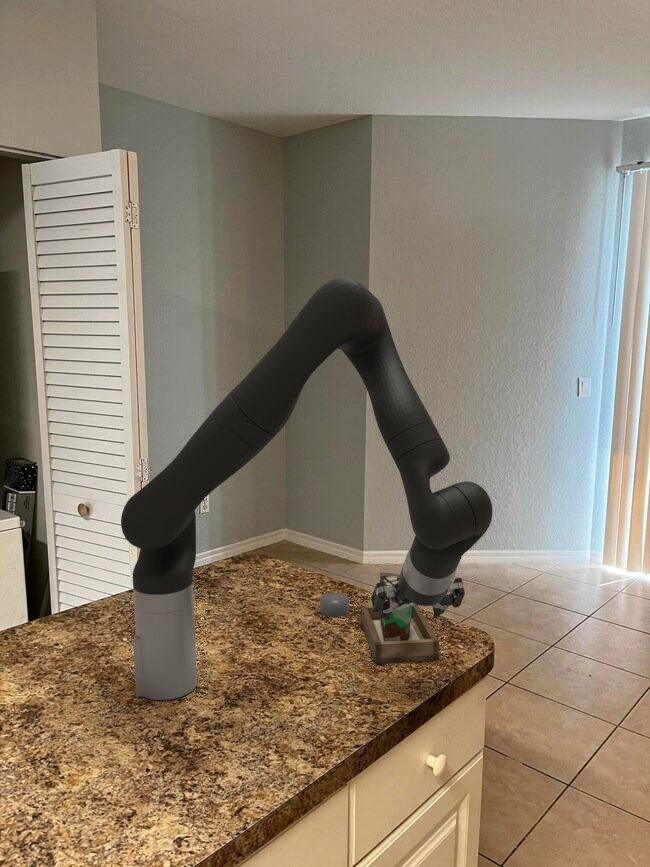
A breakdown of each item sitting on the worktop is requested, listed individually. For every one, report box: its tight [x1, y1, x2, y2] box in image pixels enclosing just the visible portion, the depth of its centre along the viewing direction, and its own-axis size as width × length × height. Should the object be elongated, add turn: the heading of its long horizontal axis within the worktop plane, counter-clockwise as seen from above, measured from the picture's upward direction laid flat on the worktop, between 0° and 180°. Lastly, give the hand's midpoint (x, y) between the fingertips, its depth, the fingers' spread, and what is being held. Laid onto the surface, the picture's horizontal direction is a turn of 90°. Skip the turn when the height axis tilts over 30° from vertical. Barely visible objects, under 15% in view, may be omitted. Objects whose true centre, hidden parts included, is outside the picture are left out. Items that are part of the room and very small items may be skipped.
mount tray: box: [360, 604, 440, 665], centre depth 127 cm, size 11×17×4 cm, turn 5°
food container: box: [379, 571, 412, 642], centre depth 126 cm, size 12×6×10 cm, turn 0°
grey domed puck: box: [319, 591, 350, 618], centre depth 141 cm, size 6×6×3 cm
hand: (410, 613), depth 116 cm, fingers open, 8 cm apart
